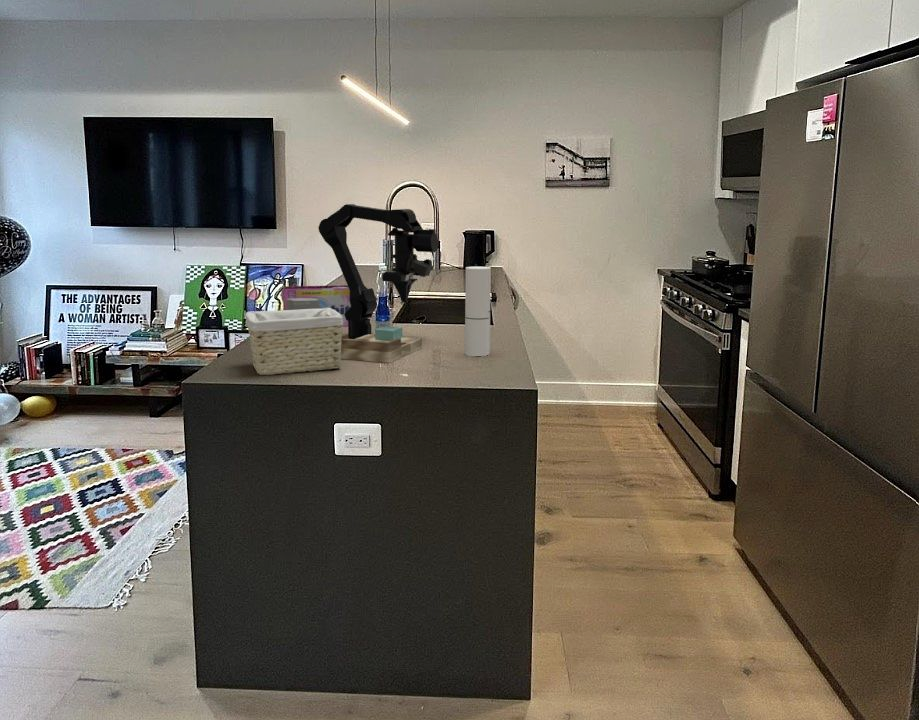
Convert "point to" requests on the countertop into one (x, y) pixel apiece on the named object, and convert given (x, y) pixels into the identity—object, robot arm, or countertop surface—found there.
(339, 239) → the robot arm
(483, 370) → the countertop surface
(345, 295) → the gum box
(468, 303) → the cylindrical container
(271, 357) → the storage basket
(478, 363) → the countertop surface
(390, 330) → the block
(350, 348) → the wooden tray
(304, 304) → the skincare box
